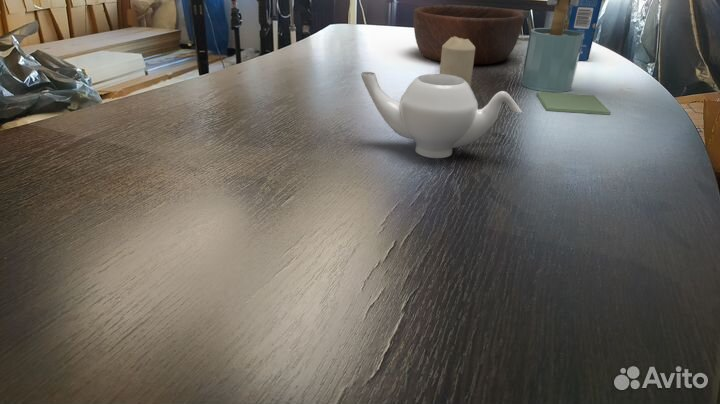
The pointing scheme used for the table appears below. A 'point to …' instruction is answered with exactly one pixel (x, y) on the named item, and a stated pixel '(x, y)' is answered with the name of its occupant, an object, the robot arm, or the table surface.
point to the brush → (559, 18)
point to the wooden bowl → (468, 30)
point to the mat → (572, 103)
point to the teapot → (437, 112)
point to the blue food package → (584, 23)
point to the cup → (551, 60)
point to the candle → (458, 58)
